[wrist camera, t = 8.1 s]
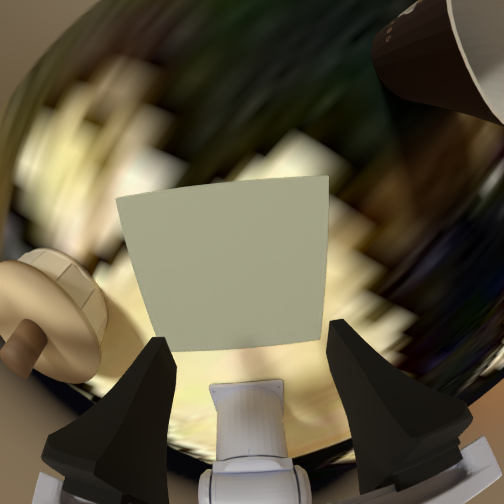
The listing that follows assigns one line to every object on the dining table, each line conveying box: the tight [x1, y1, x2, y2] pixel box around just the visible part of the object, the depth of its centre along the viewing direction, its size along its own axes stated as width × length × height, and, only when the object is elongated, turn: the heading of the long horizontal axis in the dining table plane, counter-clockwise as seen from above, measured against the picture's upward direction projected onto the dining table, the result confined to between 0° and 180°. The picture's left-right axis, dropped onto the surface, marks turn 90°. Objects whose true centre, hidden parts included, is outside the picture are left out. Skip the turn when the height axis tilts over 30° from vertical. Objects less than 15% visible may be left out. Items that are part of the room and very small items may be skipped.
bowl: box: [17, 247, 108, 343], centre depth 20 cm, size 11×11×4 cm
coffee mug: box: [371, 0, 504, 127], centre depth 10 cm, size 12×9×10 cm
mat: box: [116, 176, 329, 352], centre depth 21 cm, size 15×15×1 cm
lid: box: [0, 260, 101, 383], centre depth 16 cm, size 13×13×5 cm
